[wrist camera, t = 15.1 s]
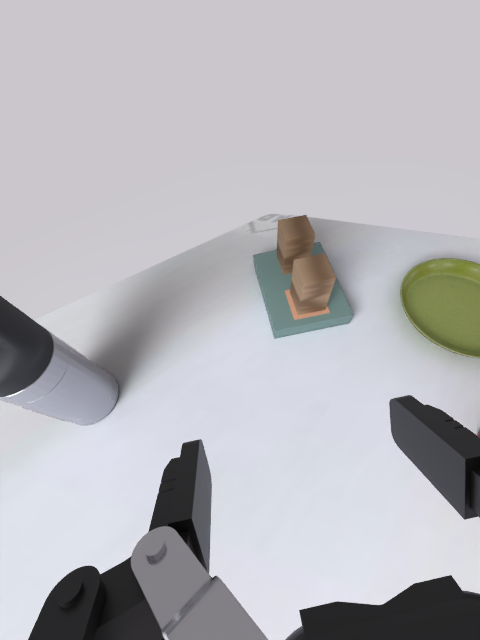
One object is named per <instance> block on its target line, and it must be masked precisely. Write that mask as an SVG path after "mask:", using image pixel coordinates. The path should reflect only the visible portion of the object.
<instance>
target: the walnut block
mask: <svg viewBox="0 0 480 640" xmlns="http://www.w3.org/2000/svg"><path fill="white" fill-rule="evenodd" d="M335 279H336V276H335V274H334V272H333V270H332V268H331V266H330V264H329V261H328V259H327V257H326V255H325V253H324V254H319V255H314V256H309V257H304V258H300V259H295V260H294V262H293V270H292V279H291V287H290V295H291V298H292V301H293V304H294V306H295V309H296V312H297V315H303V314H308V313H312V312H317V311H322V310H325V309H326V306H327V303H328V300H329V297H330V294H331V291H332V288H333V285H334V282H335Z"/></svg>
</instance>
